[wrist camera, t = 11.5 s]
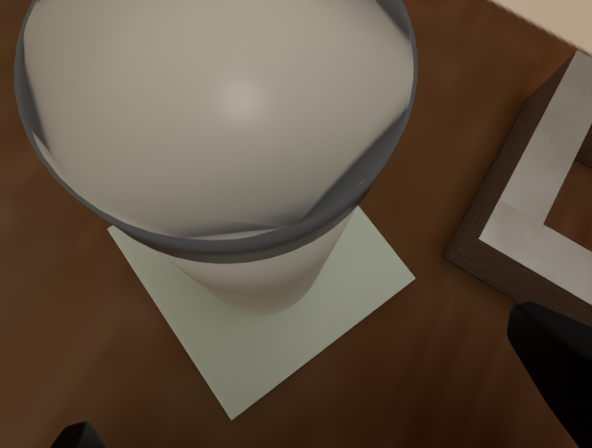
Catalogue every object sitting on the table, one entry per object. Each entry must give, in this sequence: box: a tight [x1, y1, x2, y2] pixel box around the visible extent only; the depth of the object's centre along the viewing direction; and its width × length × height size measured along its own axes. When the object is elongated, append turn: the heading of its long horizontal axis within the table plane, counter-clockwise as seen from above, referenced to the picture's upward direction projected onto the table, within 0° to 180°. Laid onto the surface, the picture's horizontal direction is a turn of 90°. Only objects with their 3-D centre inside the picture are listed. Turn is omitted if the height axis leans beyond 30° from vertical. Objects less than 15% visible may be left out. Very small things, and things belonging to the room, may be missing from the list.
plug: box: [14, 0, 417, 315], centre depth 12 cm, size 5×5×13 cm
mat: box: [107, 206, 415, 421], centre depth 18 cm, size 9×9×1 cm
